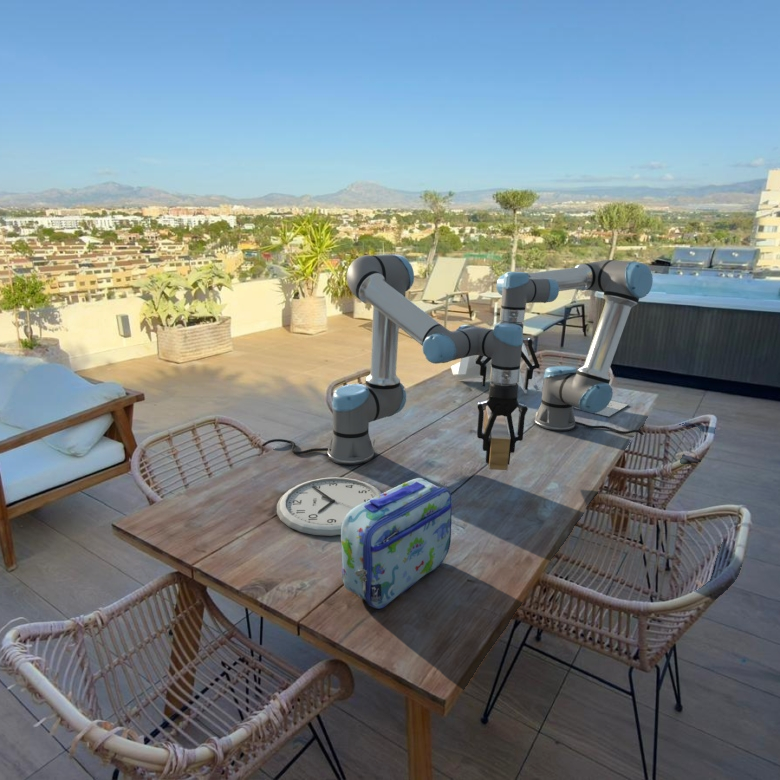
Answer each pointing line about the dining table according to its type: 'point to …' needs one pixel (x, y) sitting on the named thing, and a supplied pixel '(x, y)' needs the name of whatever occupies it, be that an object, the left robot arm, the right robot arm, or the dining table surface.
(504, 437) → the bar
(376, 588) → the lunch box
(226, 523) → the dining table surface
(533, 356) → the right robot arm
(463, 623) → the dining table surface
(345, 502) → the wall clock
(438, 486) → the fork
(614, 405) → the invitation card
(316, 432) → the dining table surface
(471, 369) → the white plastic object
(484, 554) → the dining table surface
